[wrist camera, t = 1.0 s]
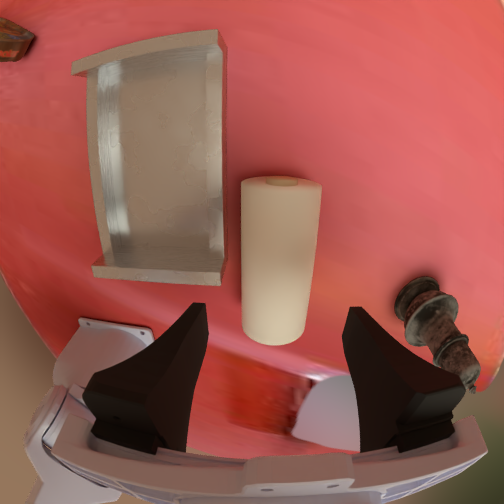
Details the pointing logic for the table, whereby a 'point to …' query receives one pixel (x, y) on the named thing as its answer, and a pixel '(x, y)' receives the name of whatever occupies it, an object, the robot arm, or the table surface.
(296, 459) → the robot arm
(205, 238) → the cradle
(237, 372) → the table surface
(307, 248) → the roll
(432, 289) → the rusty metal finial
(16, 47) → the tin
